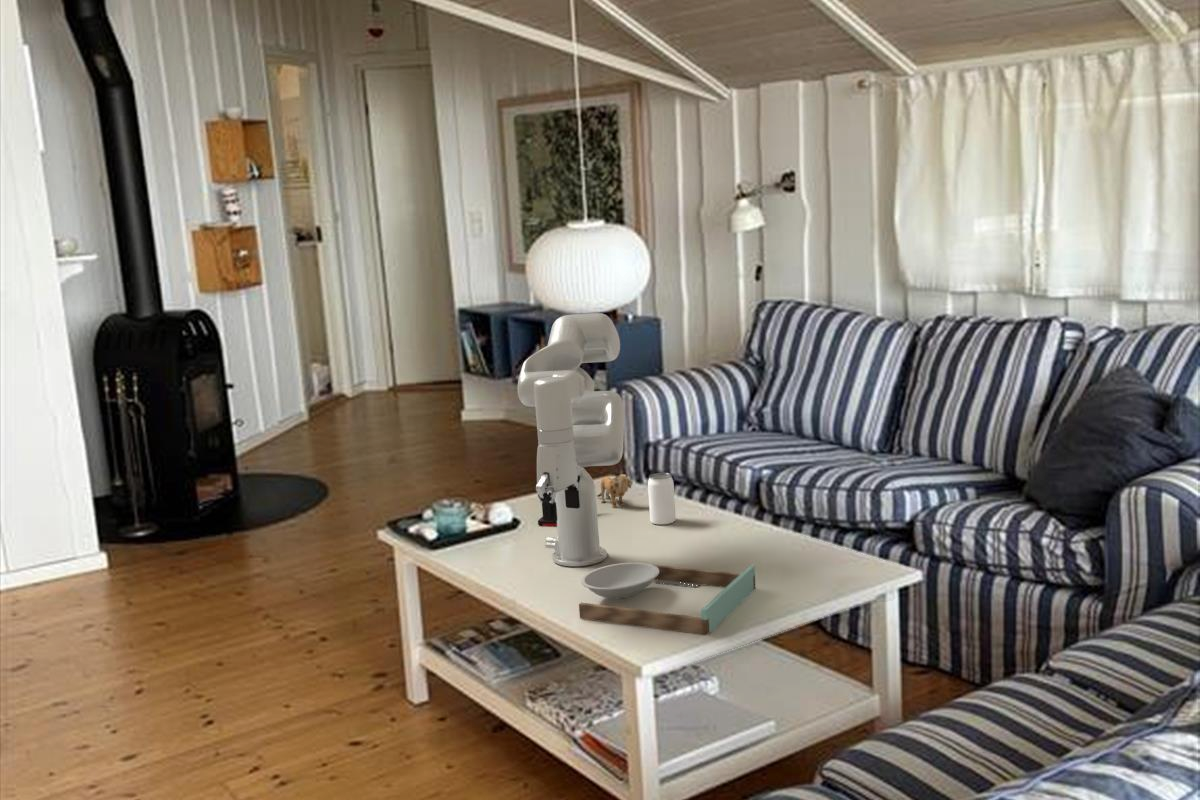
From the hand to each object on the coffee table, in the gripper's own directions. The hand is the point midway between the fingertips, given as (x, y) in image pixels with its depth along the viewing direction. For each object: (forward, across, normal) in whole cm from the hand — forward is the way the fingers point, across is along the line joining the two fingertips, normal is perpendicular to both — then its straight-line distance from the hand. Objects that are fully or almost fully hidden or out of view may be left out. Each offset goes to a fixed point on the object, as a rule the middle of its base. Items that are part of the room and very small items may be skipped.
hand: (561, 514), depth 258 cm
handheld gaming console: (+17, -47, -28) cm, 57 cm away
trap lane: (+18, 0, +24) cm, 30 cm away
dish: (+18, 0, +13) cm, 22 cm away
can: (+17, -51, -1) cm, 54 cm away
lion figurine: (+17, -63, -21) cm, 68 cm away
